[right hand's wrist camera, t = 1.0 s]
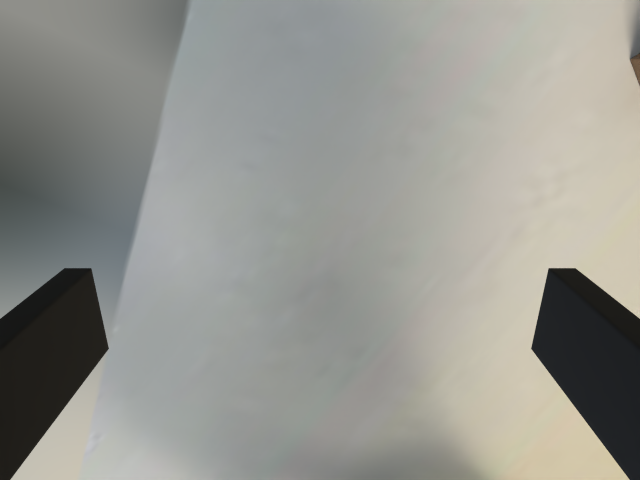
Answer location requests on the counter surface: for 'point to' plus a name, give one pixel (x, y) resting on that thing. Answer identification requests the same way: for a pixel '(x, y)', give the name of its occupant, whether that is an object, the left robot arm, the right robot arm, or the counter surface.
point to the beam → (636, 65)
